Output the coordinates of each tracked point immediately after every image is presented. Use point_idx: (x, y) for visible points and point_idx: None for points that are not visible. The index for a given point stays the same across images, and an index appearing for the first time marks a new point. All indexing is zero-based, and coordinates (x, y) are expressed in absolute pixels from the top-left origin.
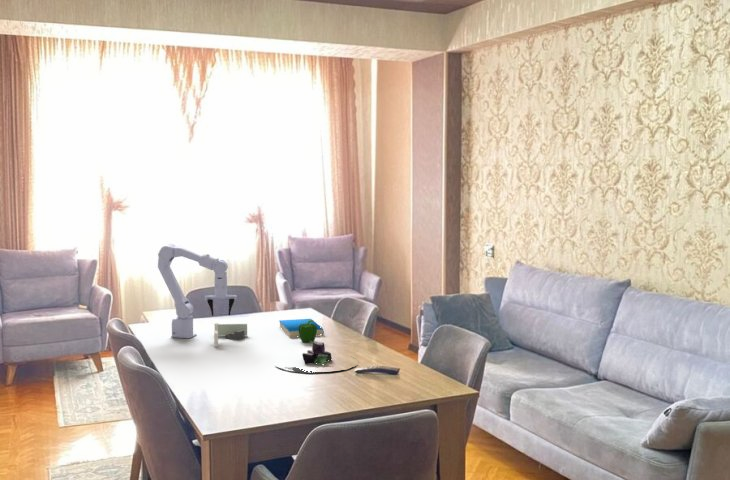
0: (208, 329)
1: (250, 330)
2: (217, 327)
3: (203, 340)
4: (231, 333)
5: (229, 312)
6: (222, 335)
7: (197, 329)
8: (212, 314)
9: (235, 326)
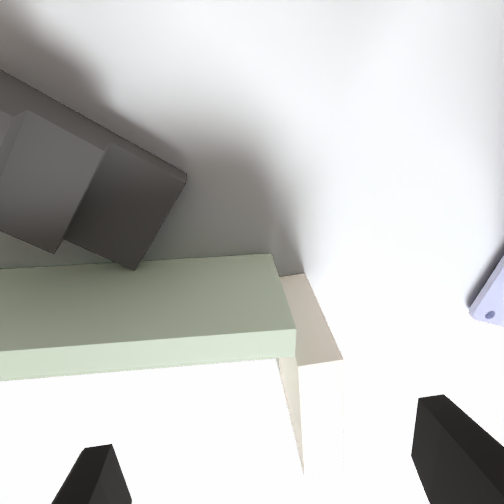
0: (360, 475)
1: (9, 468)
2: None
3: (424, 67)
4: (83, 156)
5: (72, 497)
6: (224, 258)
7: None
8: (450, 408)
9: (50, 327)
